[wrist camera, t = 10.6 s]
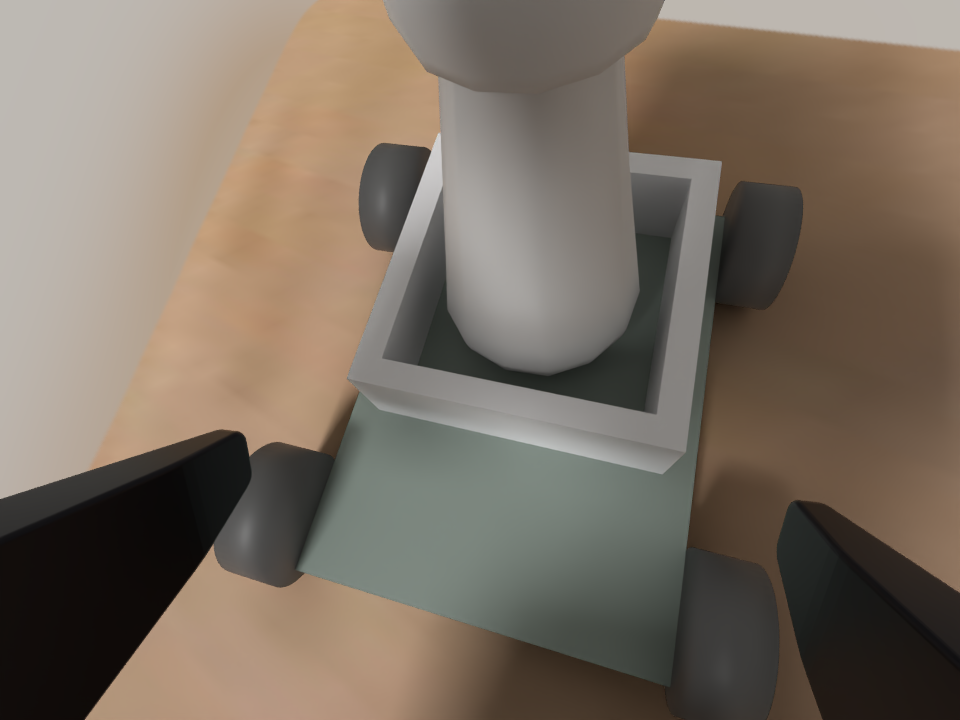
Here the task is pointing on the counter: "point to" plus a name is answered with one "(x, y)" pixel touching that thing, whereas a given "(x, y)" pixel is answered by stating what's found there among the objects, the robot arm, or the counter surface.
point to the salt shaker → (534, 170)
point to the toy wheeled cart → (541, 451)
